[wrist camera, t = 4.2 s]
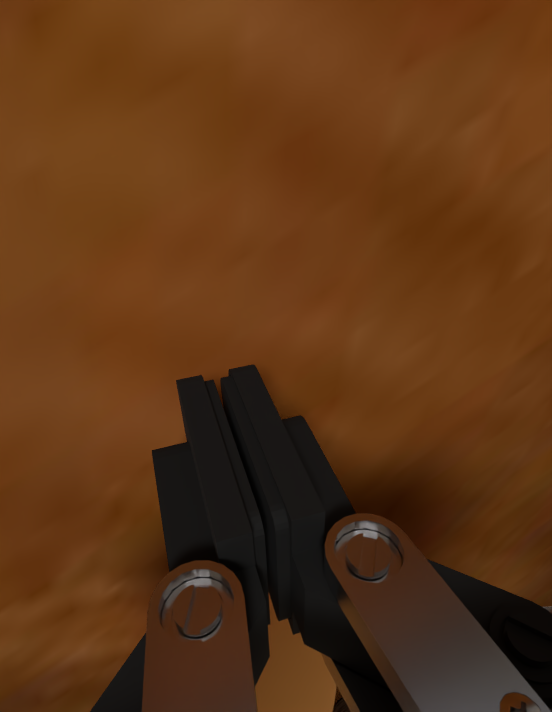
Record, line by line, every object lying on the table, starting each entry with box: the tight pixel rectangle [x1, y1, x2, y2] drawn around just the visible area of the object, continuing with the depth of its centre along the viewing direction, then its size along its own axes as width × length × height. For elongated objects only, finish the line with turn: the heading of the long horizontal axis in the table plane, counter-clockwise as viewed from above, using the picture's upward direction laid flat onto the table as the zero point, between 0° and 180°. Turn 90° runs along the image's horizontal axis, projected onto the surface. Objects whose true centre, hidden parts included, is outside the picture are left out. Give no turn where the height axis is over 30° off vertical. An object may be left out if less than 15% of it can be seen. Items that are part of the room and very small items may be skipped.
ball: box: [255, 592, 336, 712], centre depth 15 cm, size 6×6×6 cm
